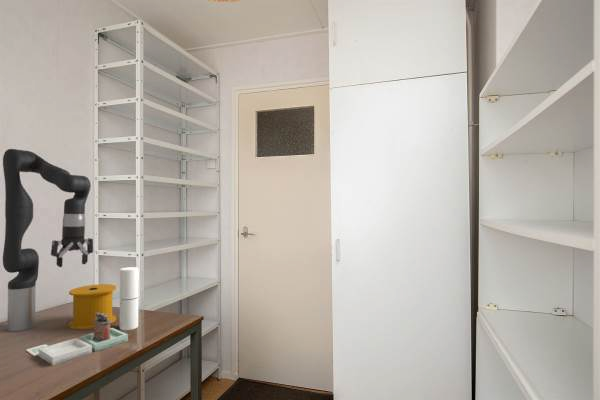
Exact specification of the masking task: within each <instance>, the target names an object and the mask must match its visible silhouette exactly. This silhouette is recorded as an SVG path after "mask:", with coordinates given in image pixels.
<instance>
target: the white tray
mask: <svg viewBox="0 0 600 400" xmlns="http://www.w3.org/2000/svg"><path fill="white" fill-rule="evenodd" d="M92 353H93V350H92V345H90V344H88V343H86V342H84V341H82V340H80V338H78V337H75V338H71V339H68V340H65V341H60V342H58V343H54V344H51V345H48V346H47V347H43V348H40V349H39V355H38V357H39V358H41V360H43V361H45V362H46V363H48V364H50V366H55V365H58V364H62V363H64V362H68V361H70V360H73V359H77V358H79V357H83V356H86V355H88V354H92Z"/></svg>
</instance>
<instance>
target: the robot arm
mask: <svg viewBox="0 0 600 400" xmlns="http://www.w3.org/2000/svg"><path fill="white" fill-rule="evenodd" d="M2 167H3V170H2V171H3V177H4V185H5V186H4V187H5V191H4V192H5V199H4V200H5V204H4V207H5V208H4V214H5V215H4V216H5V226H4V227H5V230H4V233H5V235H4V243H3V250H2V251H3V253H2V266H3V268H4V269H5V271H6V272H7V273H9V274H12V273H13V274H14V273H17V275H16V276H15V277H14V278H12V279H11V280H9V281H8V283H7V321H6V322H7V324H6V330H7V331H9V332H19V331H25V330H28V329H32V328H34V327H35V326H36V290H37V289H36V288H37V287H36V286H37V285H36V284H37V280H38V277H39V267H40V266H39V264H40V258H39V257H40V256H39V253H38V251H36V249H34V248H31V247H30V248H28V247H27V248H22V244H23V243H22V241H23V238H24V235H25V234H26V232H27V230H28V229H29V227H30V225H31V223H32V221H33V219H34V202H33V200H32V198H31V196H30V195H29V194H28V192H27V190H26V189H25V188H24V186H23V184H22V181H21V175H20V173H21V172H22V173H34V174H40V176H41V178H42V179H44V180H45V181H46V182H47V183H50V184H51V185H52V184H53V185H55V186H56V187H57V188H58V189H59V190H60V191H62V192H65V193H70V194H71V193H73V197H72V198H71V197H70V198H67V199H65V201H64V204H63V205H64V206H63V217H62V230H61V231H62V232H61V235H62V237H61V240H55V239H54V240H52V243H51V250H50V256H51V257H54V258H56V263H55V264H56V266H57V267H58V268H62V267H63V263H64V262H63V261H64V260H63V259H64V258H63V256H64V255H65V254H66V253H67V252H68V251H69V252H71V251H80V253H82V255H81V265H86V264H87V263H88V260H89V259H88V257H89V254H92V253H94V239H93V238H90V237H89V238H85V236H86V235H85V234H86V232H85V231H86V215H85V213H86V211H85V209H86V202H87V200H88V196H89V193H90V190H91V188H92V187H91V186H92V185H91V181H90V179H89V178H88V177H87V176H84V175H78V174H77V175H75V174H71V173H70V172H69V171H68V170H66V169H64V168H61V167H59V166H56V165H54V164H53V163H50V162H48V161H46V160H45V159H43V158H42V157H41V156H39V155H38V154H36V153H35V152H33V151H30V150H22V149H16V148H8V149H6V150H5V151H4V153H3V156H2ZM84 244H86V247H87V248H85V246H83V245H84ZM60 245H62V247H61V248H60V249H59V251H58V247H60Z"/></svg>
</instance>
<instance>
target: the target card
mask: <svg viewBox="0 0 600 400" xmlns="http://www.w3.org/2000/svg"><path fill="white" fill-rule="evenodd" d="M47 346H49V345H48V344H46V343H45V344H42V345H37V346H34V347H30V348H26V349H25V351H26V352H27V353H29V354H30V355H31V356H34V357H37V356H39V349H40V348H43V347H47Z"/></svg>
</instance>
